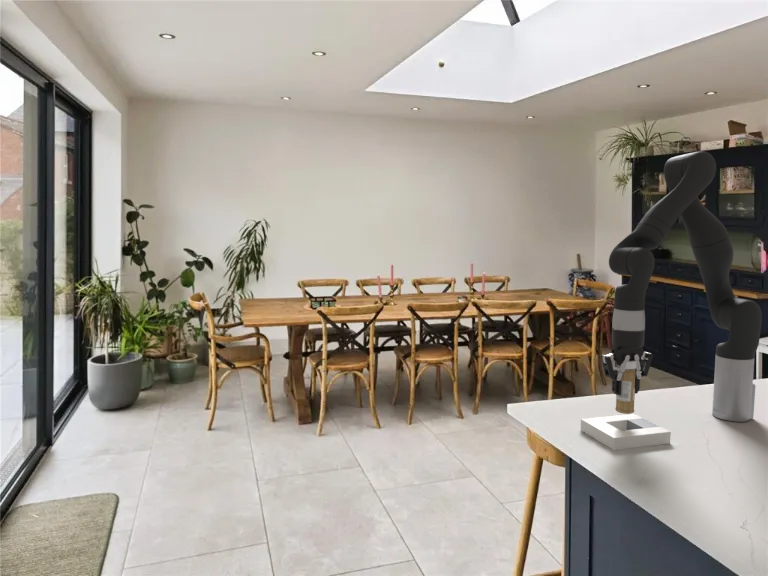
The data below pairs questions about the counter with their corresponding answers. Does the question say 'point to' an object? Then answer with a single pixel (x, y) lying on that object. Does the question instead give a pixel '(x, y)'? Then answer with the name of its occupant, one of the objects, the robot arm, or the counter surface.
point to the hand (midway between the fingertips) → (625, 393)
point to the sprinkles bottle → (627, 390)
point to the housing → (625, 431)
